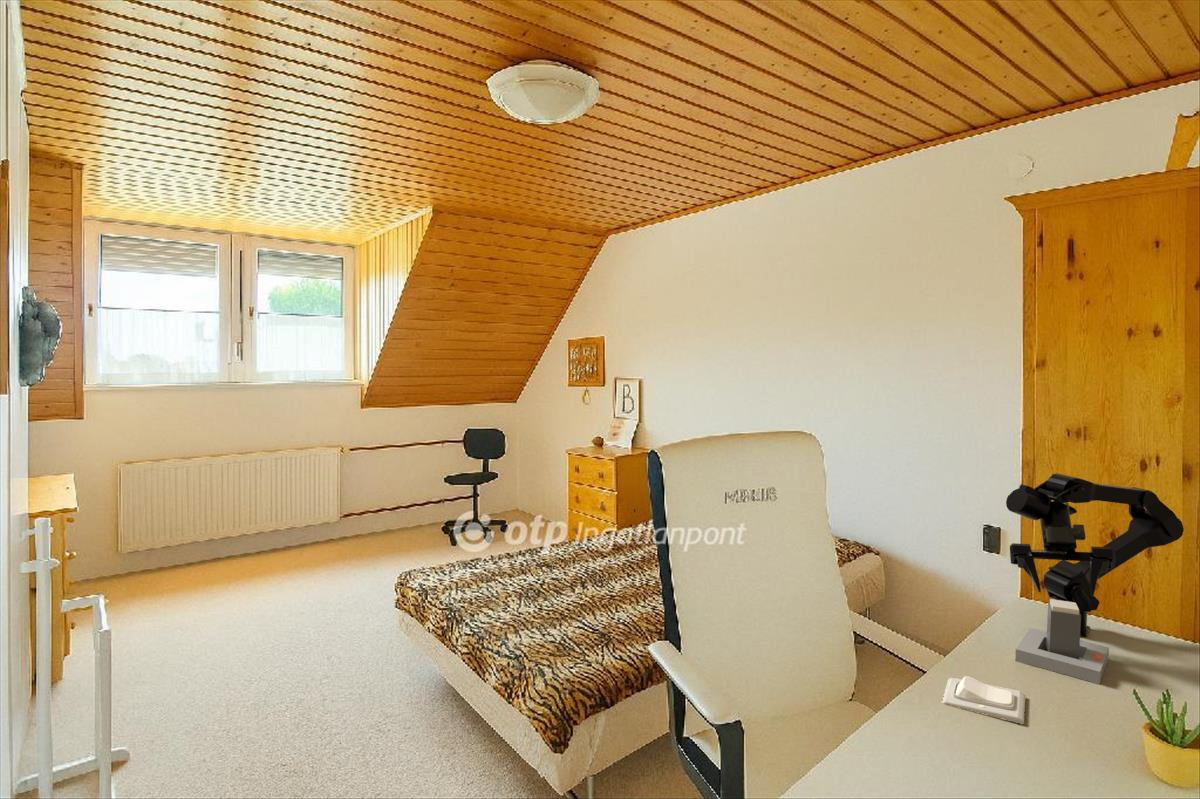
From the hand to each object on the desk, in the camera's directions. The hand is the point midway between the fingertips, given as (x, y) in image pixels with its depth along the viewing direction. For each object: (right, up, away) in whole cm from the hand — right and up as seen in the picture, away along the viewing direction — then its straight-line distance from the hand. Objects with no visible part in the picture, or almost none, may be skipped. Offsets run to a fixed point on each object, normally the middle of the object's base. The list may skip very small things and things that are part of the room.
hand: (1065, 593), depth 135 cm
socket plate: (-2, -13, -2) cm, 14 cm away
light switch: (-28, -16, -17) cm, 36 cm away
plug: (-2, -13, -2) cm, 14 cm away
